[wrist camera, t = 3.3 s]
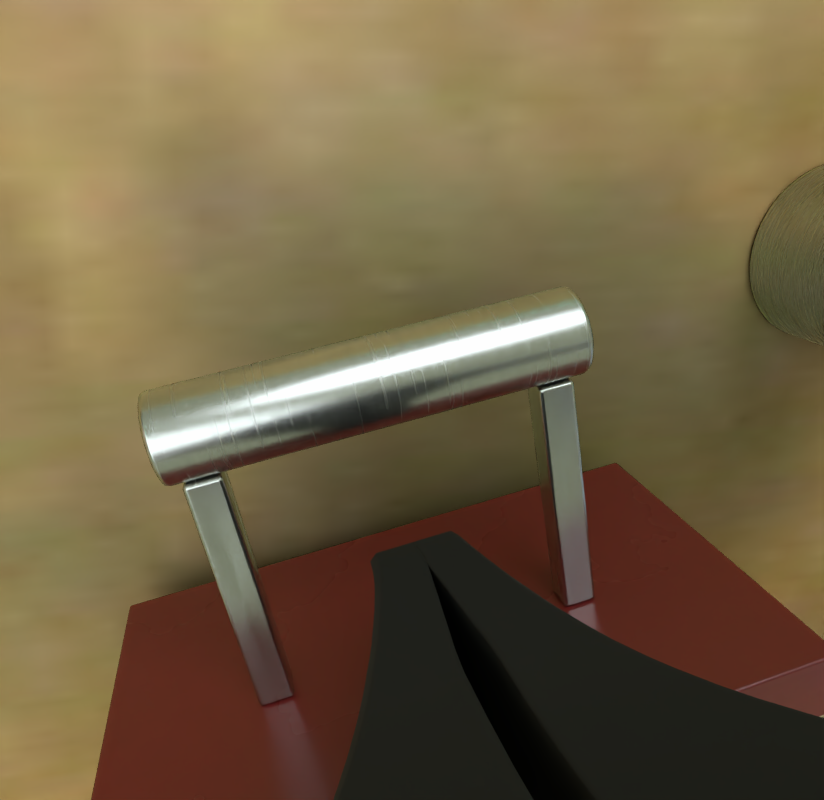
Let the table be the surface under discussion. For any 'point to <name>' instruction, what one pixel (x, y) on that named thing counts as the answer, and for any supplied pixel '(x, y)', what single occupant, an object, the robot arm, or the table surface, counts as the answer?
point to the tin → (792, 259)
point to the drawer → (350, 562)
